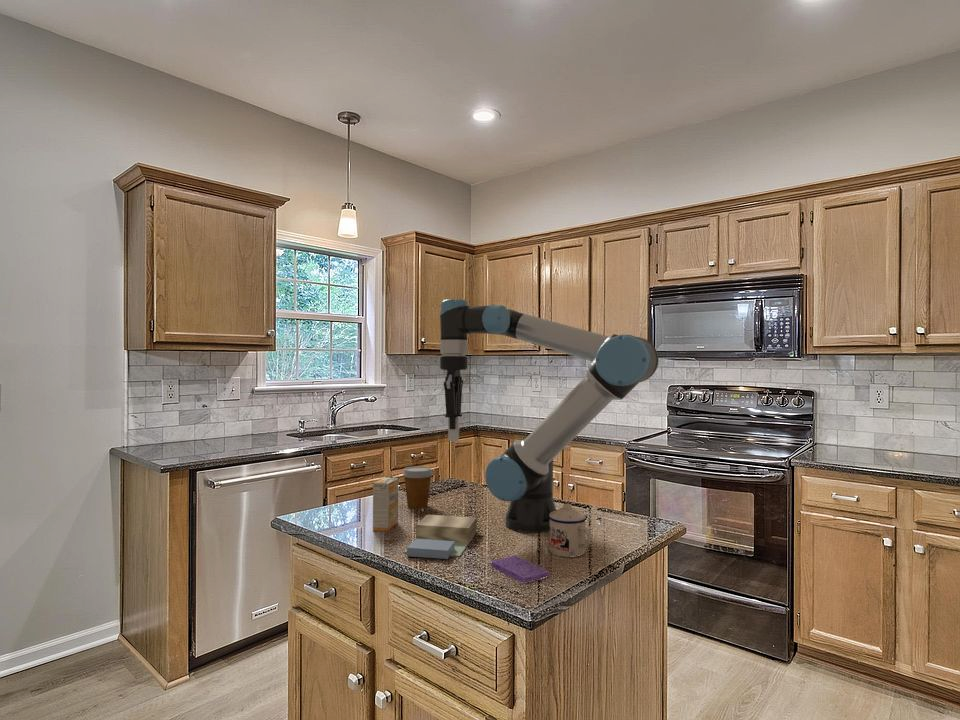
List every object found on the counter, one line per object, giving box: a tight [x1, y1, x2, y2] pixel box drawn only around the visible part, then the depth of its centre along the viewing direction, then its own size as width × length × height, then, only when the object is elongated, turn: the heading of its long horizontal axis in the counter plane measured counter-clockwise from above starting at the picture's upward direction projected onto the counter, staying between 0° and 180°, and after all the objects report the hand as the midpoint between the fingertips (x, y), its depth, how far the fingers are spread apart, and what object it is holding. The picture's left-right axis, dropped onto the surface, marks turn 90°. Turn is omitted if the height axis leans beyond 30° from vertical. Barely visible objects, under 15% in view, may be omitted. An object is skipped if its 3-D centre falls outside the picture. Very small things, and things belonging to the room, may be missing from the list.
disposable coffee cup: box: [402, 465, 433, 510], centre depth 184 cm, size 10×10×12 cm
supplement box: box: [372, 477, 399, 532], centre depth 162 cm, size 8×5×13 cm, turn 168°
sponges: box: [490, 554, 550, 584], centre depth 128 cm, size 7×13×2 cm, turn 33°
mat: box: [403, 542, 470, 558], centre depth 143 cm, size 14×10×1 cm
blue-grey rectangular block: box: [406, 538, 455, 560], centre depth 139 cm, size 10×7×2 cm
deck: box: [415, 514, 478, 544], centre depth 153 cm, size 14×10×4 cm
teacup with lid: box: [549, 503, 593, 558], centre depth 140 cm, size 12×9×12 cm
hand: (453, 440), depth 160 cm, fingers closed
